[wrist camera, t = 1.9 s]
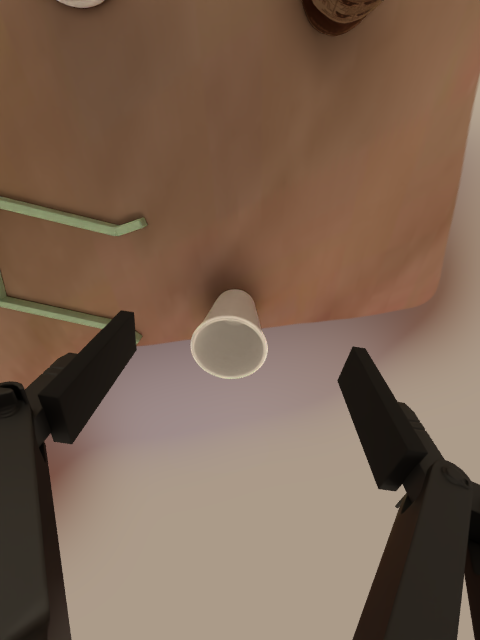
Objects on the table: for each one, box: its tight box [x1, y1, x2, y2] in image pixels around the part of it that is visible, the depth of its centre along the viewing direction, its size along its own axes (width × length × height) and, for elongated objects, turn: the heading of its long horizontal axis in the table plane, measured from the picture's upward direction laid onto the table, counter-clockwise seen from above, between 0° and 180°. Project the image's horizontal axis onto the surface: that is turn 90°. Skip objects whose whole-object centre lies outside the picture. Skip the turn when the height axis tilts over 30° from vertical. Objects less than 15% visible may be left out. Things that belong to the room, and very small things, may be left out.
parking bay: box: [0, 196, 147, 344], centre depth 34 cm, size 21×18×3 cm
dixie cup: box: [191, 289, 268, 379], centre depth 32 cm, size 8×8×10 cm
